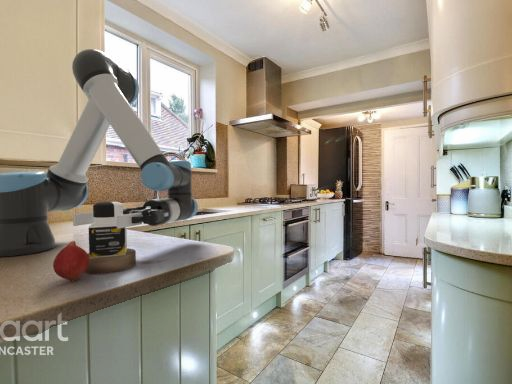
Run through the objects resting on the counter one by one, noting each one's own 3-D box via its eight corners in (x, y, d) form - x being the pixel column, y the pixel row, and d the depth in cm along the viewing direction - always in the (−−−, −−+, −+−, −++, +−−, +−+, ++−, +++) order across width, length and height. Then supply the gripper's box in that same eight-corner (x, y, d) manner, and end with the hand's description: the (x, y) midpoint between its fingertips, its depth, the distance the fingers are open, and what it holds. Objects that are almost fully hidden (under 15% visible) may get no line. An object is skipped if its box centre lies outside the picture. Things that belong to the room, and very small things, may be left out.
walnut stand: (93, 261, 67) (93, 249, 67) (140, 258, 69) (140, 247, 69) (72, 275, 57) (72, 261, 57) (128, 272, 59) (128, 258, 59)
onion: (51, 288, 50) (49, 245, 49) (57, 279, 55) (55, 239, 54) (88, 283, 52) (87, 242, 52) (90, 274, 57) (89, 237, 57)
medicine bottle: (89, 259, 58) (87, 203, 58) (94, 251, 65) (92, 201, 64) (125, 255, 61) (124, 202, 61) (126, 248, 68) (125, 200, 67)
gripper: (196, 226, 76) (140, 241, 55) (128, 222, 84) (56, 235, 64) (196, 199, 76) (139, 204, 55) (127, 198, 84) (56, 203, 63)
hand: (95, 220), depth 59 cm, fingers open, 12 cm apart
